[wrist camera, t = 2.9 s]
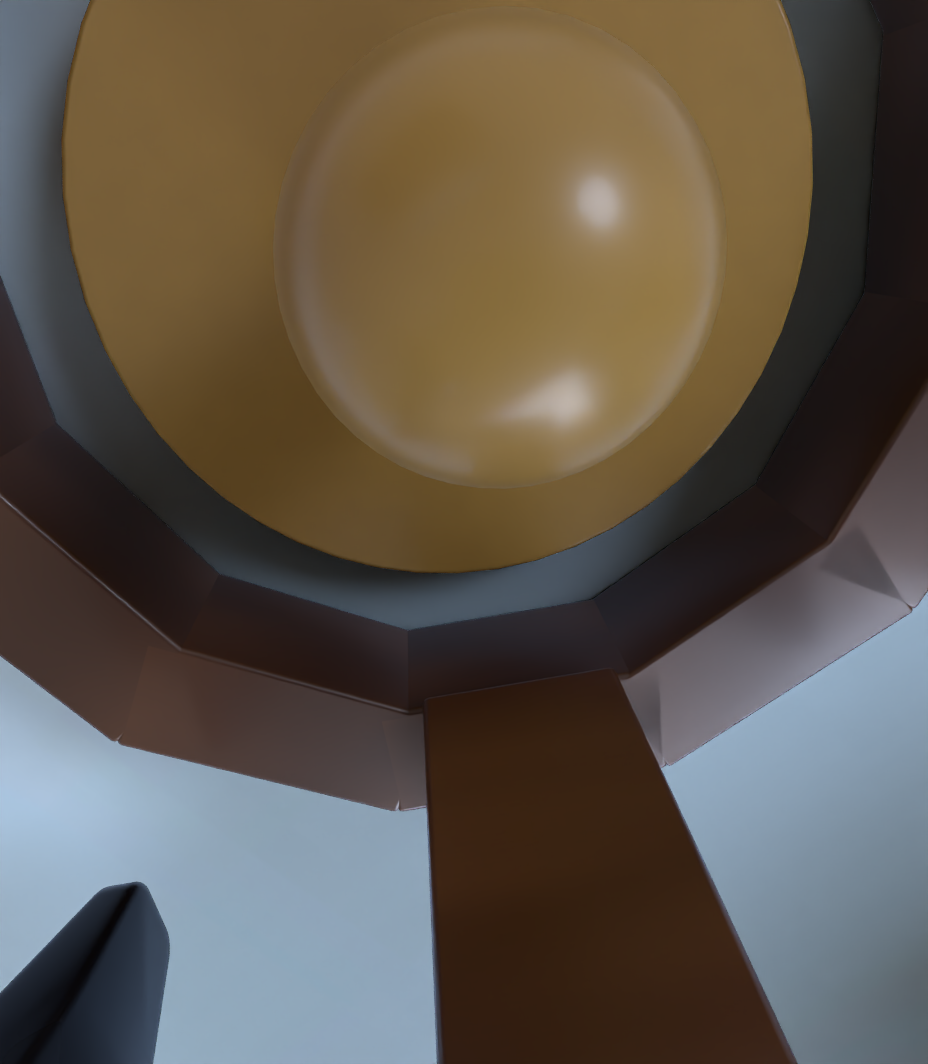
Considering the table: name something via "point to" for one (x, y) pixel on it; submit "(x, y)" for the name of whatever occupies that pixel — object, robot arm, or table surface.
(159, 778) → the table surface
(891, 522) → the ring
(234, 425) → the ring stand
